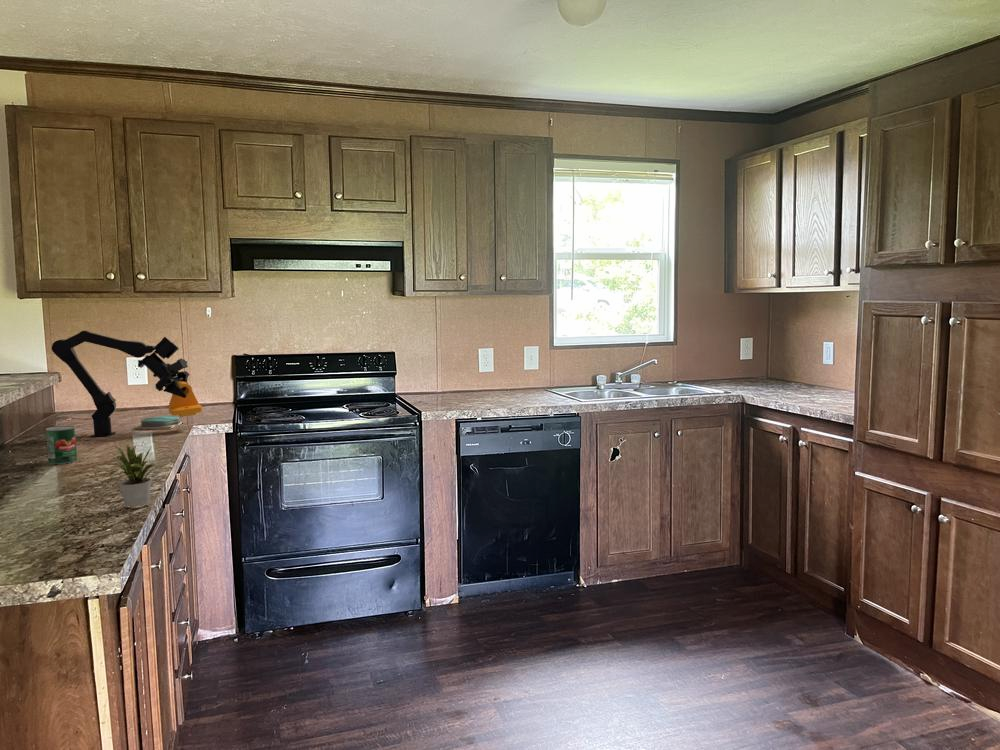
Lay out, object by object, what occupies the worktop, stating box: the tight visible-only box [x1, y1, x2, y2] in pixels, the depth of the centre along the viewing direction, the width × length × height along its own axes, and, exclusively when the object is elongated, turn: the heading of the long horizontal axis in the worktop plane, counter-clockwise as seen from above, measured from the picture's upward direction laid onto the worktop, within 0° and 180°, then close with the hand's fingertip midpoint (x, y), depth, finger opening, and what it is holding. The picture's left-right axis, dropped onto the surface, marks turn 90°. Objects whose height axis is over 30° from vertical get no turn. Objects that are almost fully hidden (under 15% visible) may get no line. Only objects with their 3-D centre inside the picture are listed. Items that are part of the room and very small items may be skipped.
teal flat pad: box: [134, 415, 187, 430], centre depth 298 cm, size 14×14×3 cm
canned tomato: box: [45, 425, 78, 466], centre depth 236 cm, size 8×8×11 cm
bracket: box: [167, 382, 203, 418], centre depth 286 cm, size 11×7×12 cm, turn 125°
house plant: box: [106, 443, 163, 507], centre depth 184 cm, size 14×14×16 cm
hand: (189, 396), depth 287 cm, fingers closed on bracket, 6 cm apart
